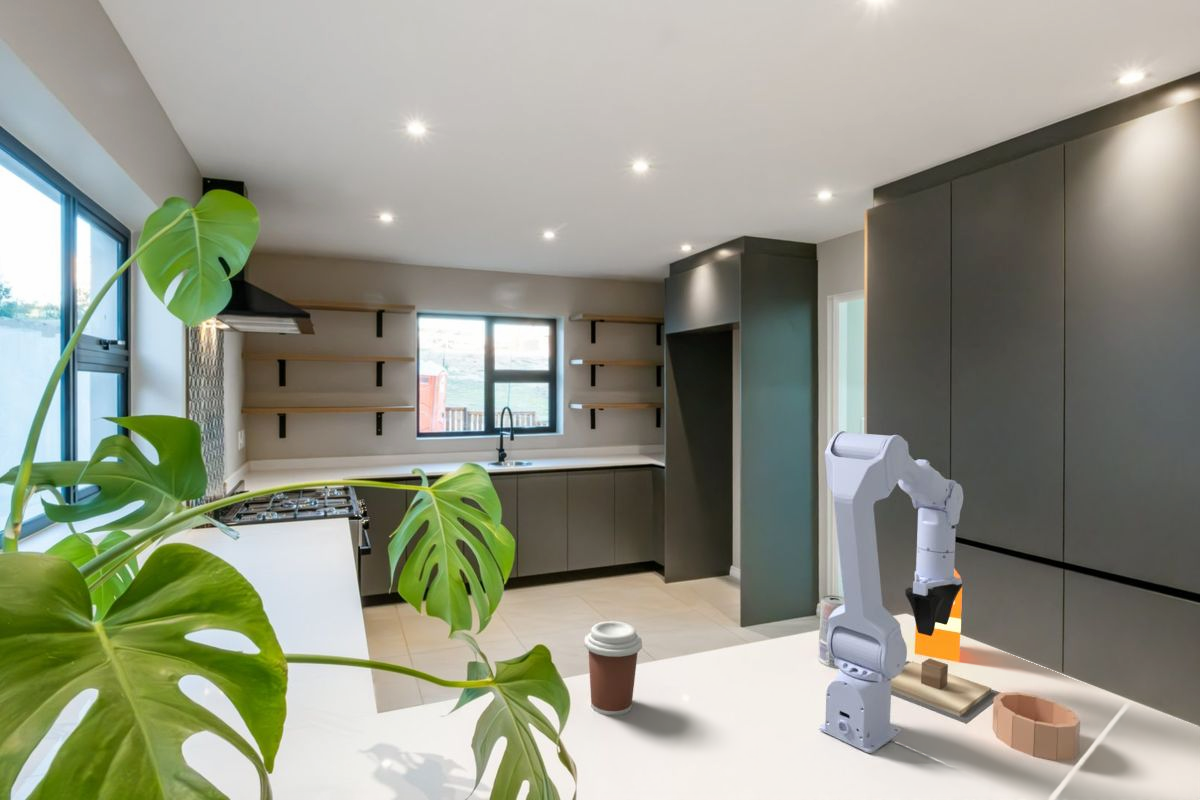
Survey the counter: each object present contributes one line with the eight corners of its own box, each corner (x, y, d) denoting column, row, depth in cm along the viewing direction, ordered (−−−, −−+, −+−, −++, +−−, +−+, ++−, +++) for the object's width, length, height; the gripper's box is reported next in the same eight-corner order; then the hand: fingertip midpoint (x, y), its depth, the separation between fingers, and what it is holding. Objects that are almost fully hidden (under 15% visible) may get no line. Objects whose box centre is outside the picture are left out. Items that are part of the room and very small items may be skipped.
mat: (966, 726, 97) (966, 723, 97) (864, 686, 109) (864, 684, 109) (1004, 696, 107) (1004, 693, 107) (907, 662, 119) (907, 660, 119)
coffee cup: (587, 722, 95) (590, 641, 94) (577, 693, 104) (580, 619, 103) (647, 717, 96) (649, 638, 96) (632, 689, 105) (634, 617, 105)
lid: (959, 716, 99) (960, 688, 99) (877, 685, 109) (878, 660, 109) (991, 692, 107) (991, 667, 107) (912, 665, 117) (913, 642, 117)
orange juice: (958, 648, 127) (961, 548, 127) (960, 664, 119) (964, 558, 119) (914, 640, 131) (917, 542, 130) (913, 655, 123) (917, 552, 122)
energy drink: (844, 659, 120) (847, 595, 120) (853, 671, 115) (855, 605, 115) (815, 657, 121) (817, 594, 120) (822, 669, 115) (824, 603, 115)
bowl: (1065, 771, 85) (1066, 734, 85) (982, 739, 93) (984, 705, 93) (1086, 746, 92) (1087, 712, 92) (1007, 718, 100) (1008, 686, 99)
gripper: (947, 561, 100) (944, 646, 101) (974, 546, 111) (971, 624, 111) (900, 552, 105) (898, 633, 106) (930, 538, 116) (928, 613, 116)
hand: (932, 628), depth 109 cm, fingers open, 7 cm apart
